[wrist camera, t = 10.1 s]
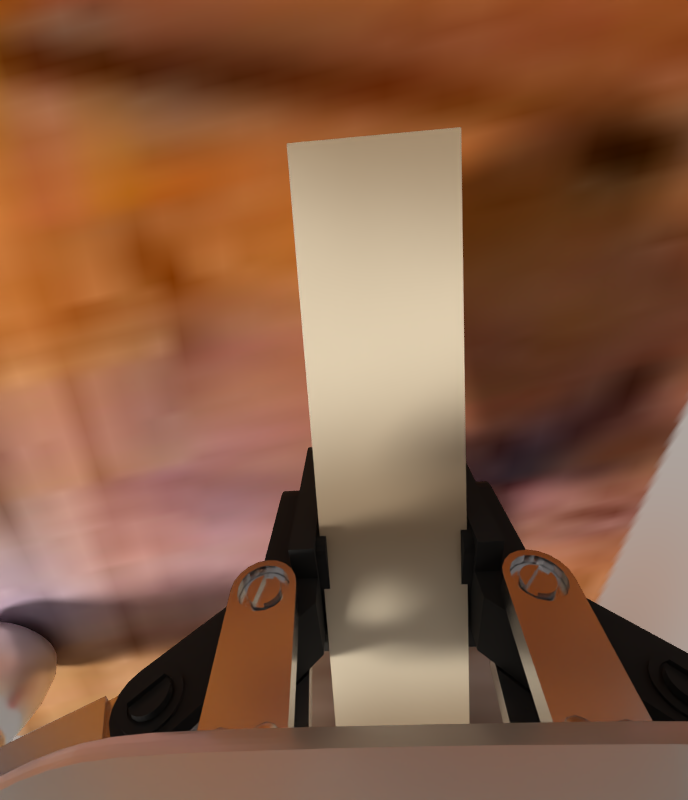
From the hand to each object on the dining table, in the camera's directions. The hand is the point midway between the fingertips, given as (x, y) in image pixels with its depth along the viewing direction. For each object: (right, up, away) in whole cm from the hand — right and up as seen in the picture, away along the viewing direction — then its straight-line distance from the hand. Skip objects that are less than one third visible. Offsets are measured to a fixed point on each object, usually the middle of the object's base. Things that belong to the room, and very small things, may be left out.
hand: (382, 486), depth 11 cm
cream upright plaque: (0, 0, +1) cm, 1 cm away
